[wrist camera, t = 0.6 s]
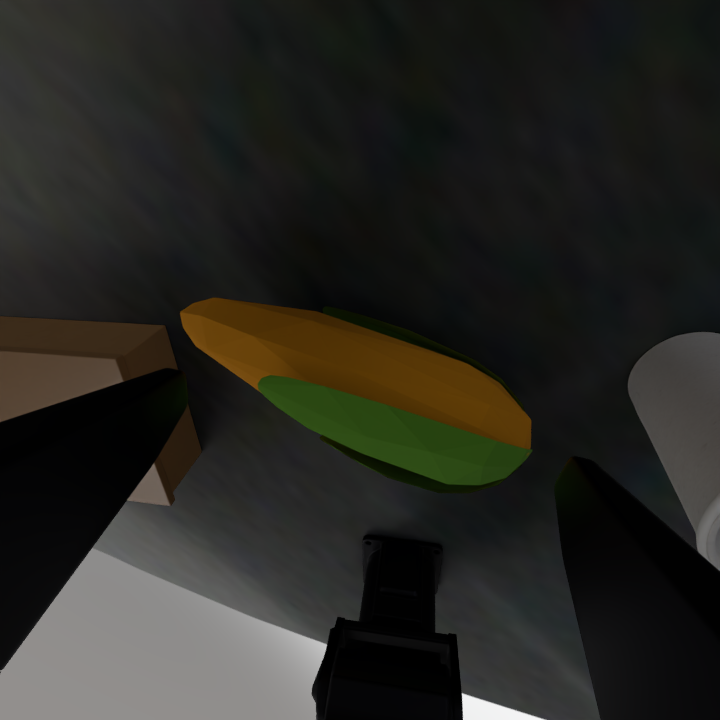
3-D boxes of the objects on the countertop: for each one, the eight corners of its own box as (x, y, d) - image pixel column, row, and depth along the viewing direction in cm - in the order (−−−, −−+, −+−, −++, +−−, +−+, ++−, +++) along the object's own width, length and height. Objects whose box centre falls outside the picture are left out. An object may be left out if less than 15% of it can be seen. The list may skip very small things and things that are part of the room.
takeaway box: (168, 320, 25) (115, 359, 21) (206, 455, 31) (170, 506, 27) (-48, 309, 28) (-135, 341, 23) (25, 435, 34) (-35, 480, 29)
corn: (503, 557, 20) (125, 416, 19) (481, 457, 27) (202, 350, 26) (592, 452, 17) (138, 275, 16) (541, 369, 23) (222, 242, 22)
